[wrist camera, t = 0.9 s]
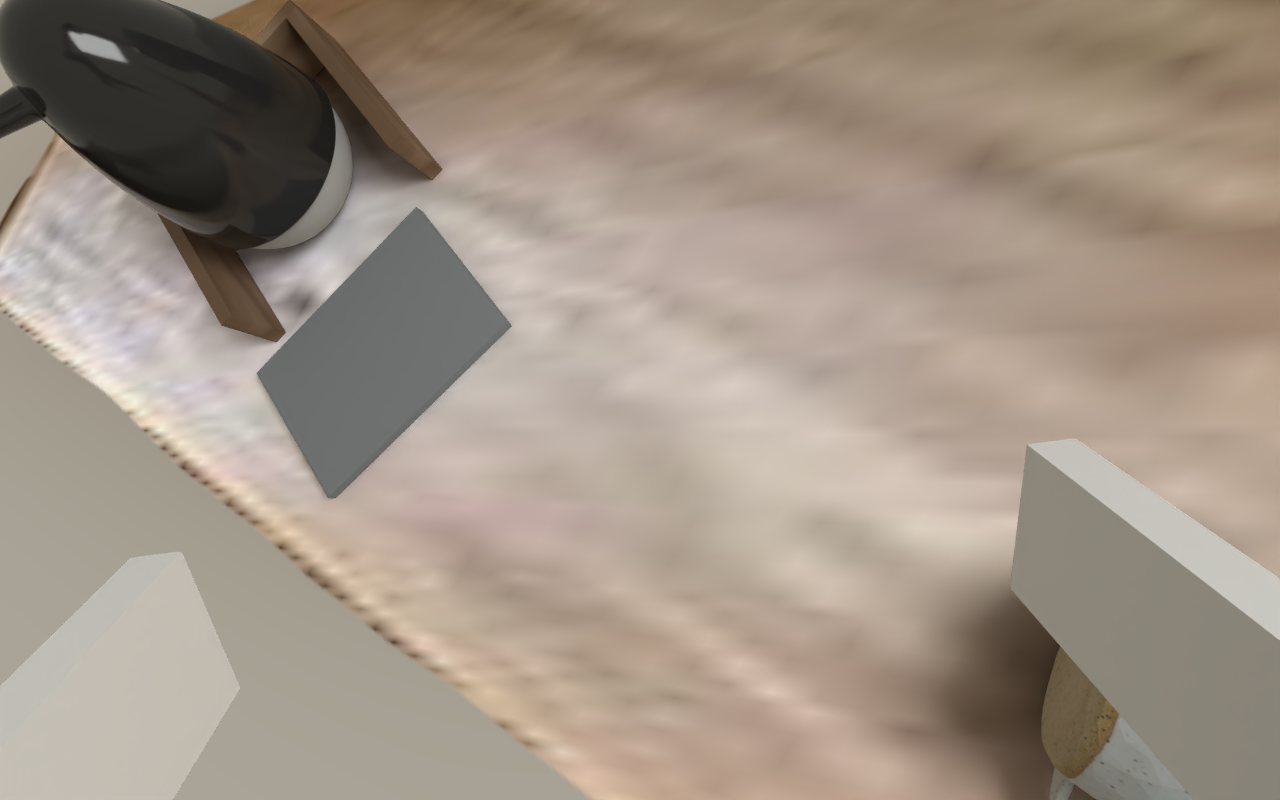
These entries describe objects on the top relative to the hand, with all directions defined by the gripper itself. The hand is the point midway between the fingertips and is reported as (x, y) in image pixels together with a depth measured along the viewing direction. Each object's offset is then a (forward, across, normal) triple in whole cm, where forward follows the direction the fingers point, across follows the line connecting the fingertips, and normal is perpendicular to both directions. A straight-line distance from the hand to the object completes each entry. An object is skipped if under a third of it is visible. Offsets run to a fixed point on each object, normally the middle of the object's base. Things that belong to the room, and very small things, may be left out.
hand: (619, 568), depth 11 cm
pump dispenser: (+34, -16, +4) cm, 38 cm away
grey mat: (+27, -12, -4) cm, 30 cm away
